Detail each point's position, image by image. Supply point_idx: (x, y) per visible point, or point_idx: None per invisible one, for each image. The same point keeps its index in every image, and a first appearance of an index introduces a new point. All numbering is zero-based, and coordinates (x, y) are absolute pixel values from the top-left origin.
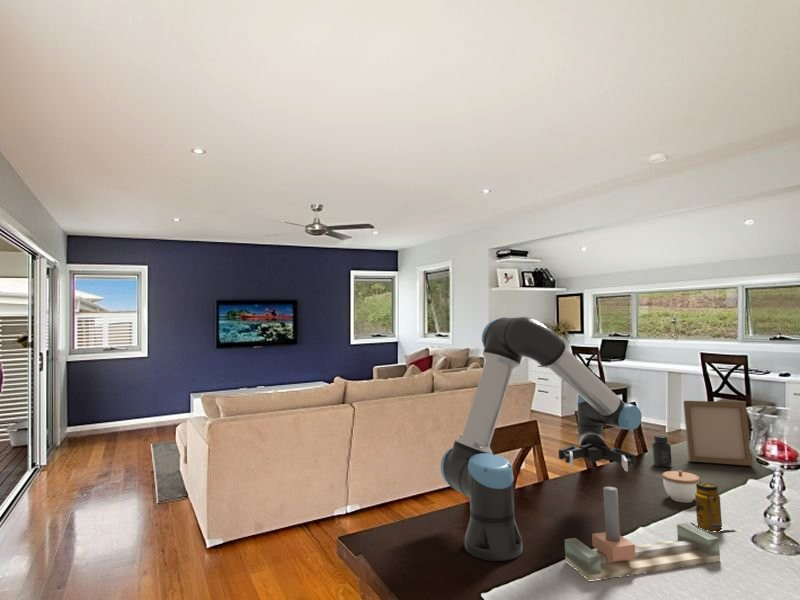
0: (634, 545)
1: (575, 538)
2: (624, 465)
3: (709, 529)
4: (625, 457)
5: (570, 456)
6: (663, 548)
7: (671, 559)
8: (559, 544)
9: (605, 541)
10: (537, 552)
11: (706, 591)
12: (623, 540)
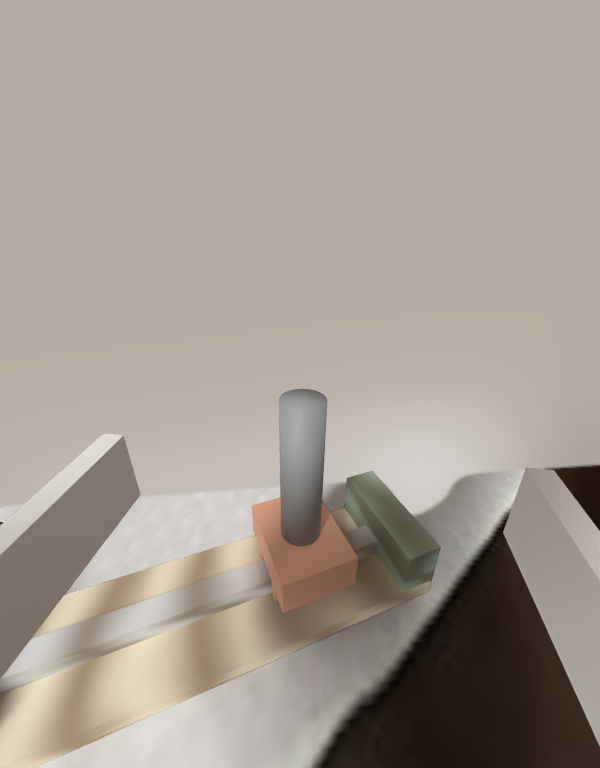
0: (253, 506)
1: (409, 555)
2: (126, 473)
3: None
4: (13, 516)
5: (556, 478)
6: (130, 606)
7: (137, 585)
8: (481, 749)
9: (325, 514)
10: (531, 652)
11: (154, 500)
12: (273, 523)
